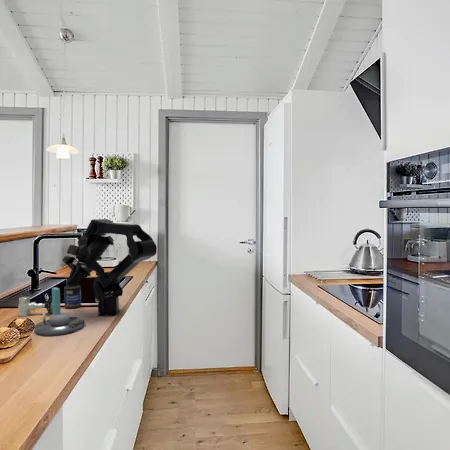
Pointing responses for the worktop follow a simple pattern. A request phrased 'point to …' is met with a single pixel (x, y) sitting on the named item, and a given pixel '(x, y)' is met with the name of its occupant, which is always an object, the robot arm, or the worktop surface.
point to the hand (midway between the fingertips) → (67, 284)
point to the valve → (32, 306)
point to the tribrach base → (59, 327)
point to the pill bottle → (72, 296)
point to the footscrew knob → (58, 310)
